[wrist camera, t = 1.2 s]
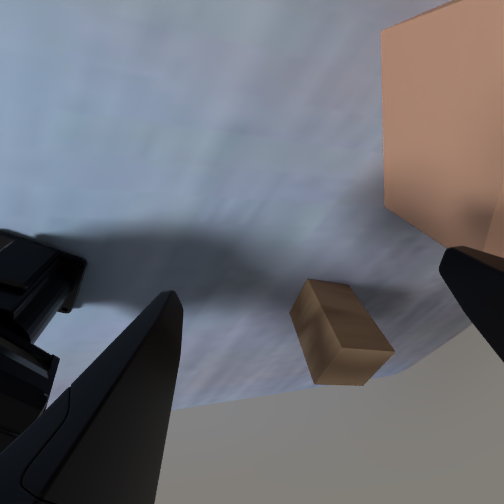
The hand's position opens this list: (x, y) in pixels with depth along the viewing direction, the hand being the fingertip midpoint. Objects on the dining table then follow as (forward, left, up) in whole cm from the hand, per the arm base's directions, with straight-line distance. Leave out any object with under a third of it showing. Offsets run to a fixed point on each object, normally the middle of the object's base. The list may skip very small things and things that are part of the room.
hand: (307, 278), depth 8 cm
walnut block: (-8, -13, -12) cm, 20 cm away
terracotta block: (+9, -8, -12) cm, 17 cm away
